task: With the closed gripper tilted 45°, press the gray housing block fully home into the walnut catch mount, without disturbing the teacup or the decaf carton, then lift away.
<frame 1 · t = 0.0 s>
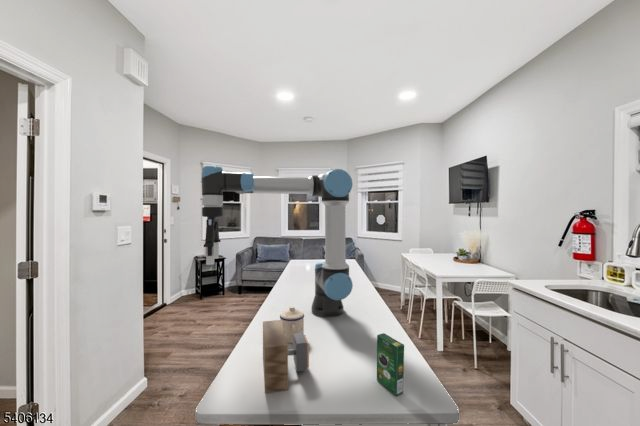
hand: (212, 261, 111), 28 cm above the kitchen island, tool pointing down, fingers open, 13 cm apart
gray housing block: (292, 352, 86), point 6 cm above the kitchen island, slide at 0.0 cm
catch mount: (274, 372, 85), on the kitchen island
teacup with lid: (292, 340, 106), on the kitchen island
coffee box: (389, 387, 78), on the kitchen island
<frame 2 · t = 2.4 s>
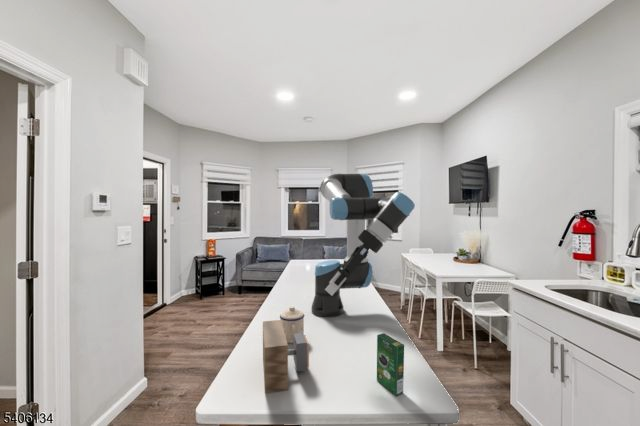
hand: (330, 288, 89), 23 cm above the kitchen island, tool tilted 40°, fingers open, 13 cm apart
nothing on the kitchen island moved.
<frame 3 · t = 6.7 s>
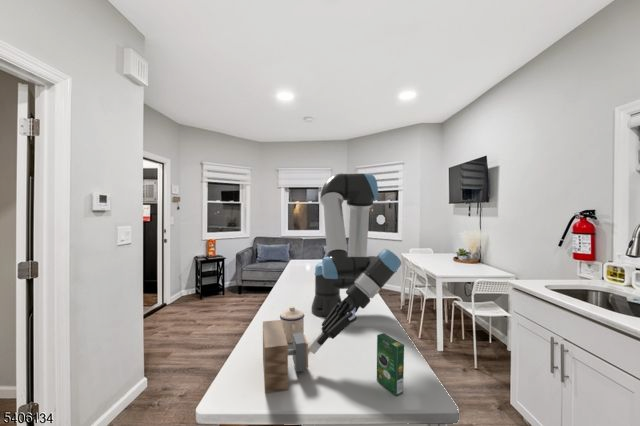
hand: (310, 350, 87), 6 cm above the kitchen island, tool tilted 45°, fingers closed
gray housing block: (292, 352, 86), point 6 cm above the kitchen island, slide at 0.2 cm, touching gripper
everything else where it was.
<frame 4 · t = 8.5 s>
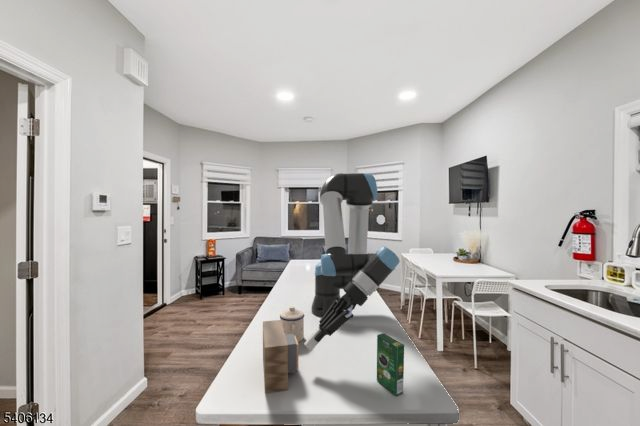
hand: (307, 347, 87), 6 cm above the kitchen island, tool tilted 45°, fingers closed
gray housing block: (282, 353, 85), point 6 cm above the kitchen island, slide at 3.1 cm
everything else where it was.
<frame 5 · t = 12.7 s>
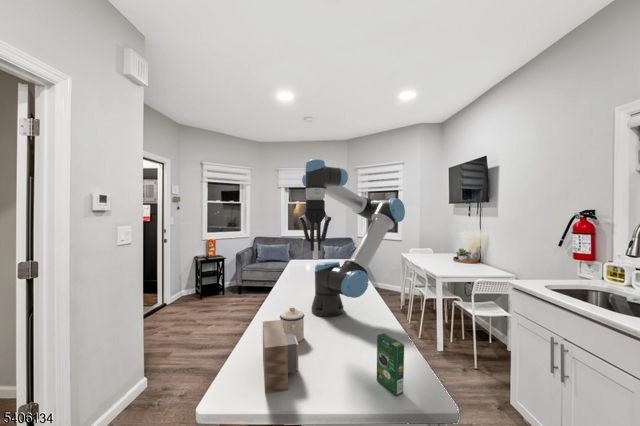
hand: (315, 259, 114), 28 cm above the kitchen island, tool pointing down, fingers closed
nothing on the kitchen island moved.
at the end: gray housing block slide at 3.1 cm; teacup with lid moved 0.2 cm from its start; coffee box moved 0.2 cm from its start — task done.
